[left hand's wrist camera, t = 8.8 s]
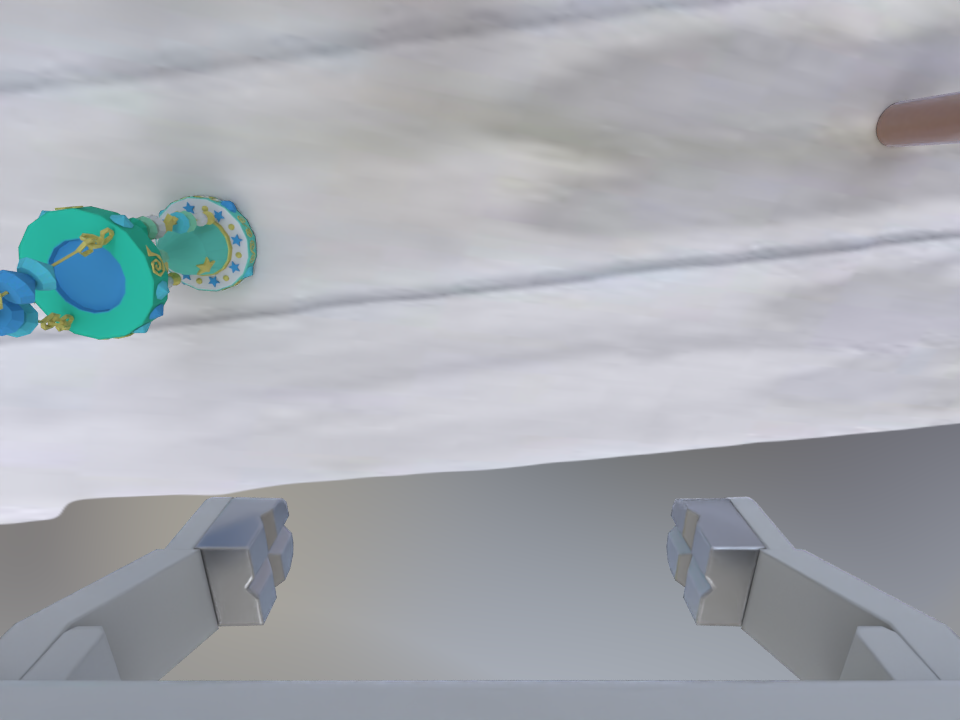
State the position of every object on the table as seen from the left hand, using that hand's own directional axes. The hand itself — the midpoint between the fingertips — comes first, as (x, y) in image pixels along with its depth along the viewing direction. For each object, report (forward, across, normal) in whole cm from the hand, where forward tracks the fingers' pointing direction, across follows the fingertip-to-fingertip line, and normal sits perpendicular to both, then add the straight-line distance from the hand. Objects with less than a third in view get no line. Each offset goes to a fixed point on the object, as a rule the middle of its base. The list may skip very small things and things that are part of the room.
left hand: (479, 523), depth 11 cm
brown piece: (+48, -42, -11) cm, 65 cm away
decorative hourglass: (+48, +29, 0) cm, 56 cm away
